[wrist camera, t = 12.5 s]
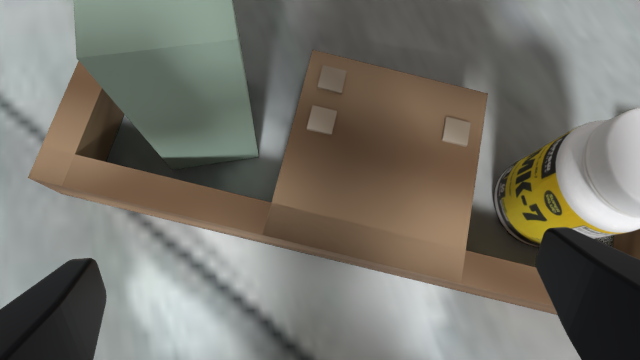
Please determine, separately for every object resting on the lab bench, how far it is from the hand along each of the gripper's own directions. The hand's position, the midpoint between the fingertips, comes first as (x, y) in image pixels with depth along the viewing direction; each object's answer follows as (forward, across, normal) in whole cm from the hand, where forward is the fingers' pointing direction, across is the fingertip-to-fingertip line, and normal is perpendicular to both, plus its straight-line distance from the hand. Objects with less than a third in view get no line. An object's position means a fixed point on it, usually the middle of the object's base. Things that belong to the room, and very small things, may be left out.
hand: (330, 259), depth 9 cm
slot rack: (+14, -4, +5) cm, 15 cm away
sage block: (+16, +4, +4) cm, 17 cm away
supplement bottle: (+12, -13, +7) cm, 19 cm away
